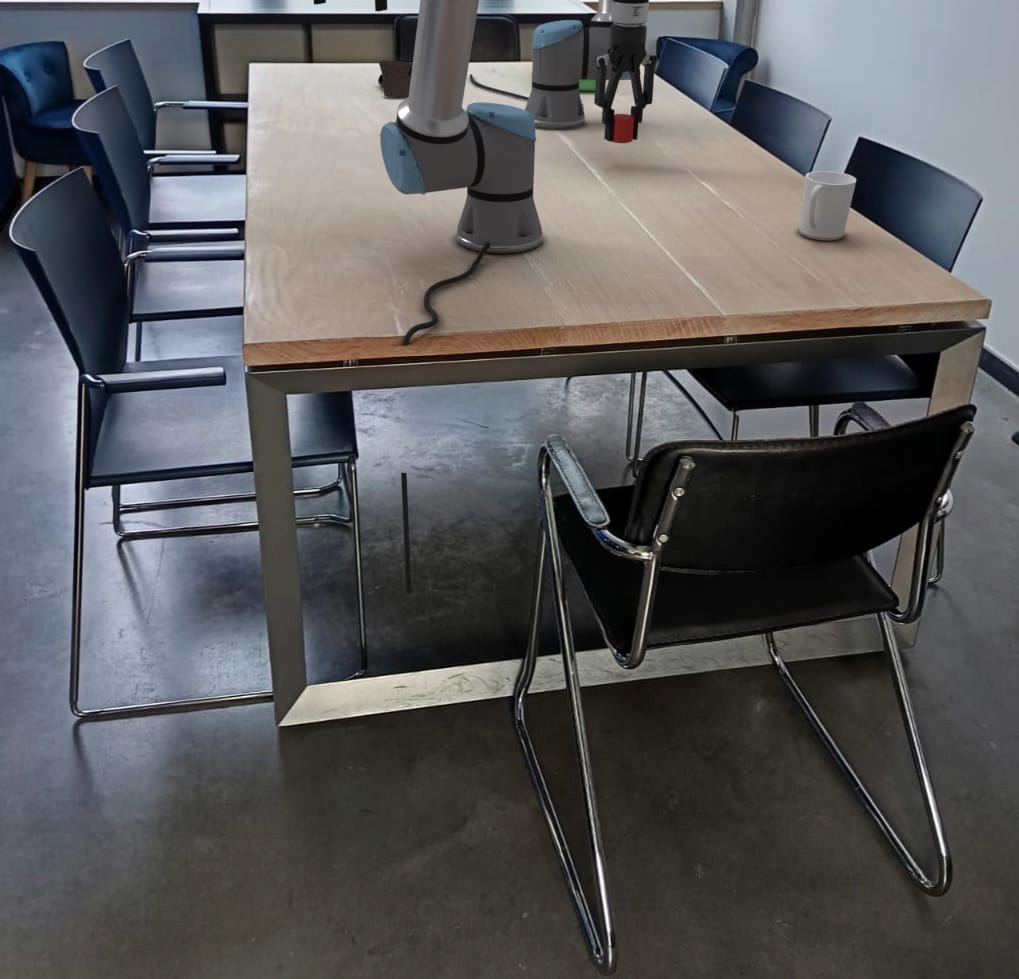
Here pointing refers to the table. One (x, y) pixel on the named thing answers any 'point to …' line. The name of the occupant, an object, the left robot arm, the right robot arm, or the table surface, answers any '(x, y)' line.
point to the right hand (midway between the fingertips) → (620, 138)
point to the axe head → (395, 78)
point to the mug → (826, 204)
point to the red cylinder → (623, 128)
